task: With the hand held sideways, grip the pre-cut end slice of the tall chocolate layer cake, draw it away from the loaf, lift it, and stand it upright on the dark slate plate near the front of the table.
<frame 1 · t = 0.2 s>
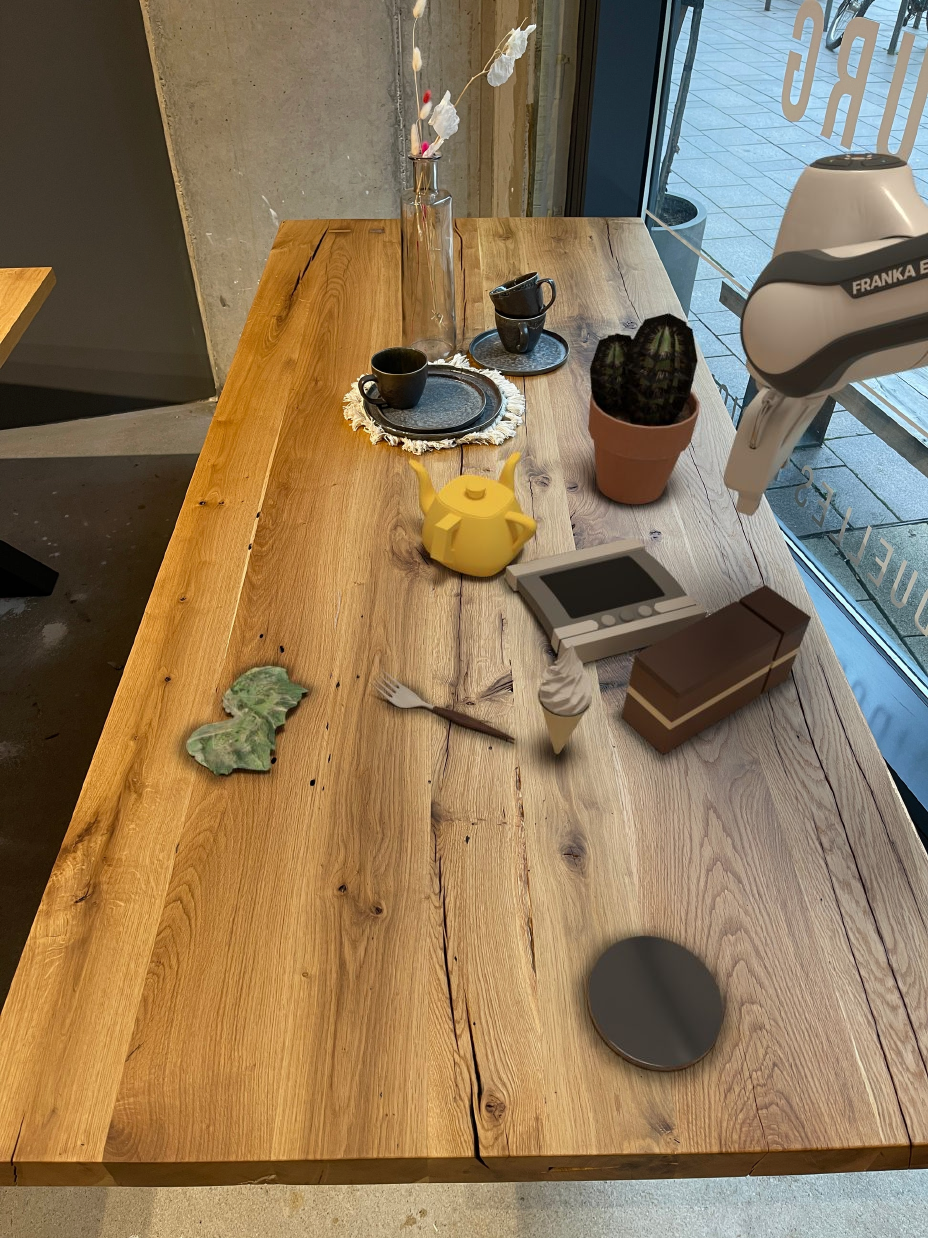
hand: (762, 486, 89), 20 cm above the table, tool pointing down, fingers open, 8 cm apart
fork: (443, 716, 93), on the table
lettuce leaf: (251, 719, 92), on the table
potted plant: (629, 487, 124), on the table
plate: (653, 1002, 72), on the table
ice cream cone: (556, 753, 90), on the table
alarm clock: (599, 605, 106), on the table
teapot: (471, 547, 113), on the table
cake slice: (753, 669, 99), on the table
cake loaf: (691, 706, 95), on the table
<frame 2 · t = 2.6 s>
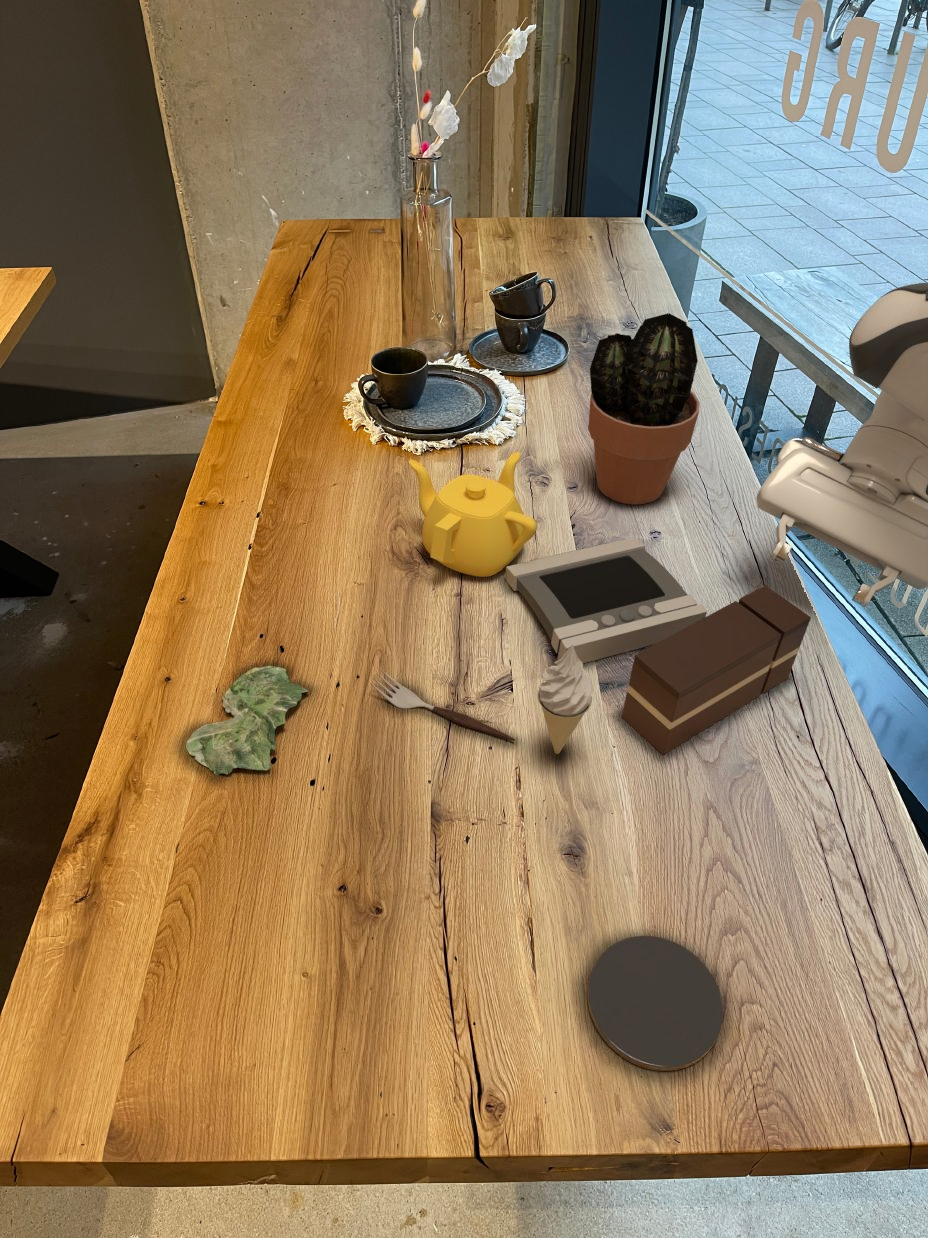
hand: (817, 580, 97), 8 cm above the table, tool tilted 55°, fingers open, 8 cm apart
nothing on the table moved.
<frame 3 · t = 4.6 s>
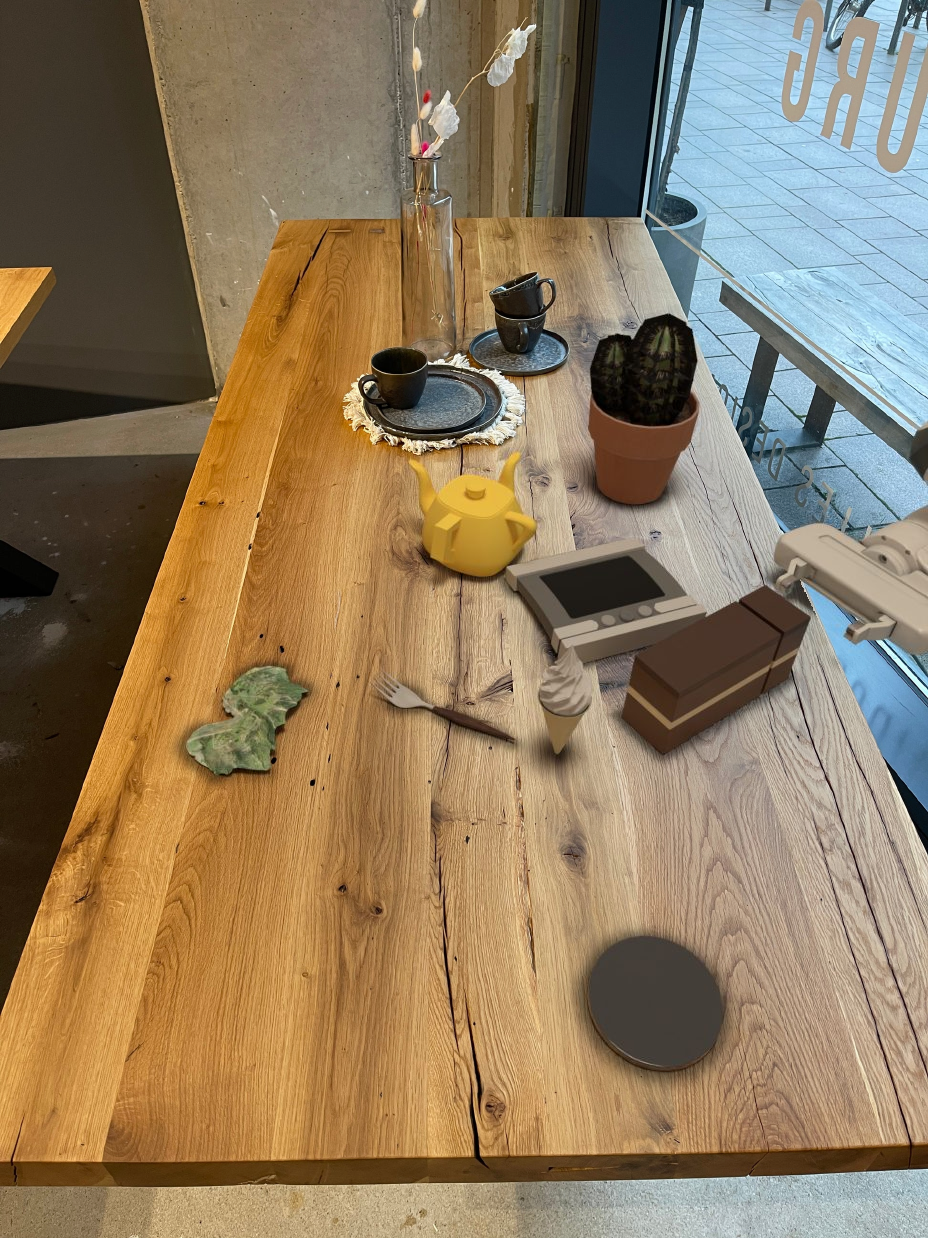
hand: (814, 611, 99), 5 cm above the table, tool horizontal, fingers open, 8 cm apart
nothing on the table moved.
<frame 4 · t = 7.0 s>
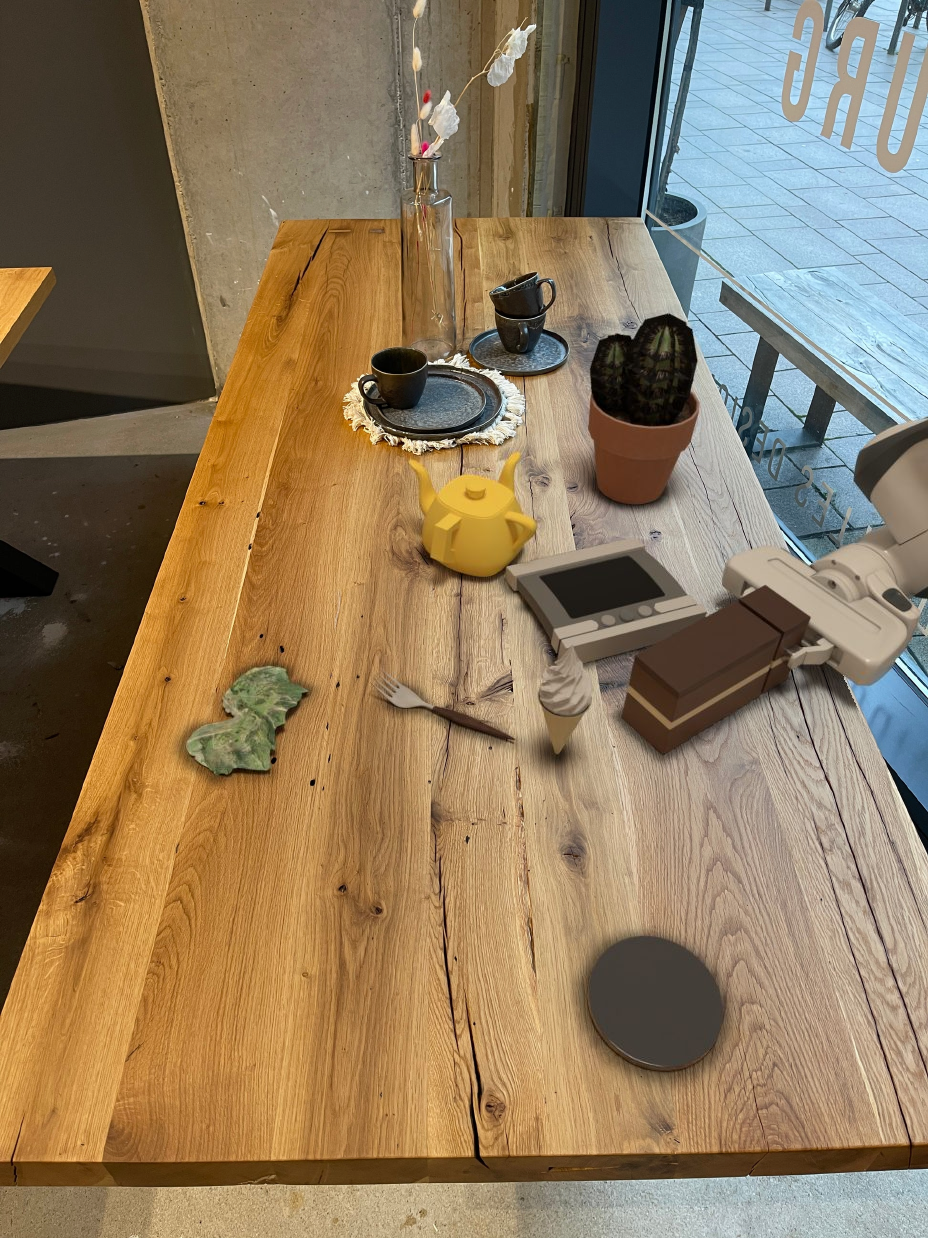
hand: (759, 639, 95), 5 cm above the table, tool horizontal, fingers closed on cake slice, 6 cm apart
cake slice: (753, 669, 99), on the table, touching gripper
everything else where it was.
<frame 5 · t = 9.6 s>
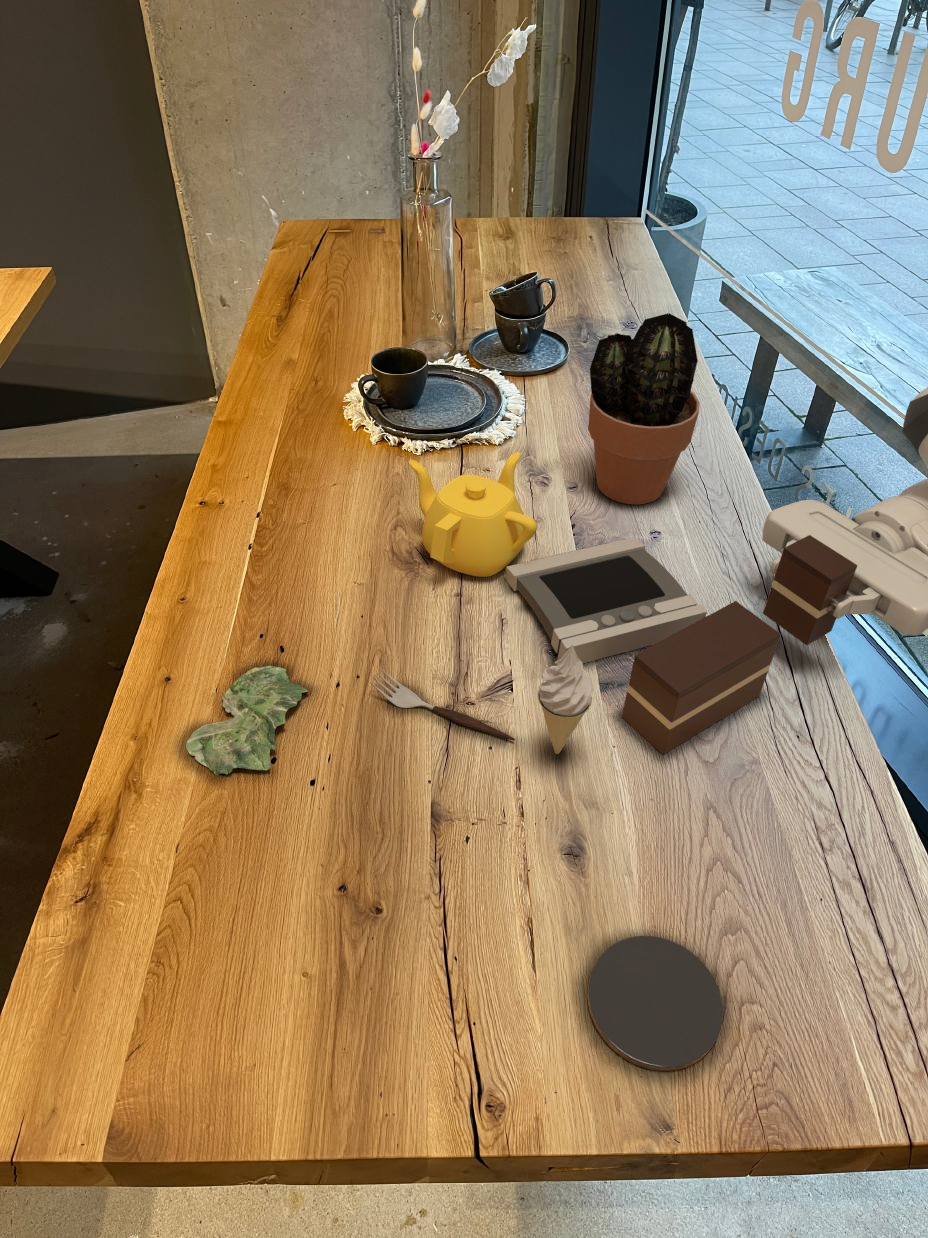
hand: (804, 590, 94), 10 cm above the table, tool horizontal, fingers closed on cake slice, 6 cm apart
cake slice: (796, 622, 98), point 5 cm above the table, touching gripper
everything else where it was.
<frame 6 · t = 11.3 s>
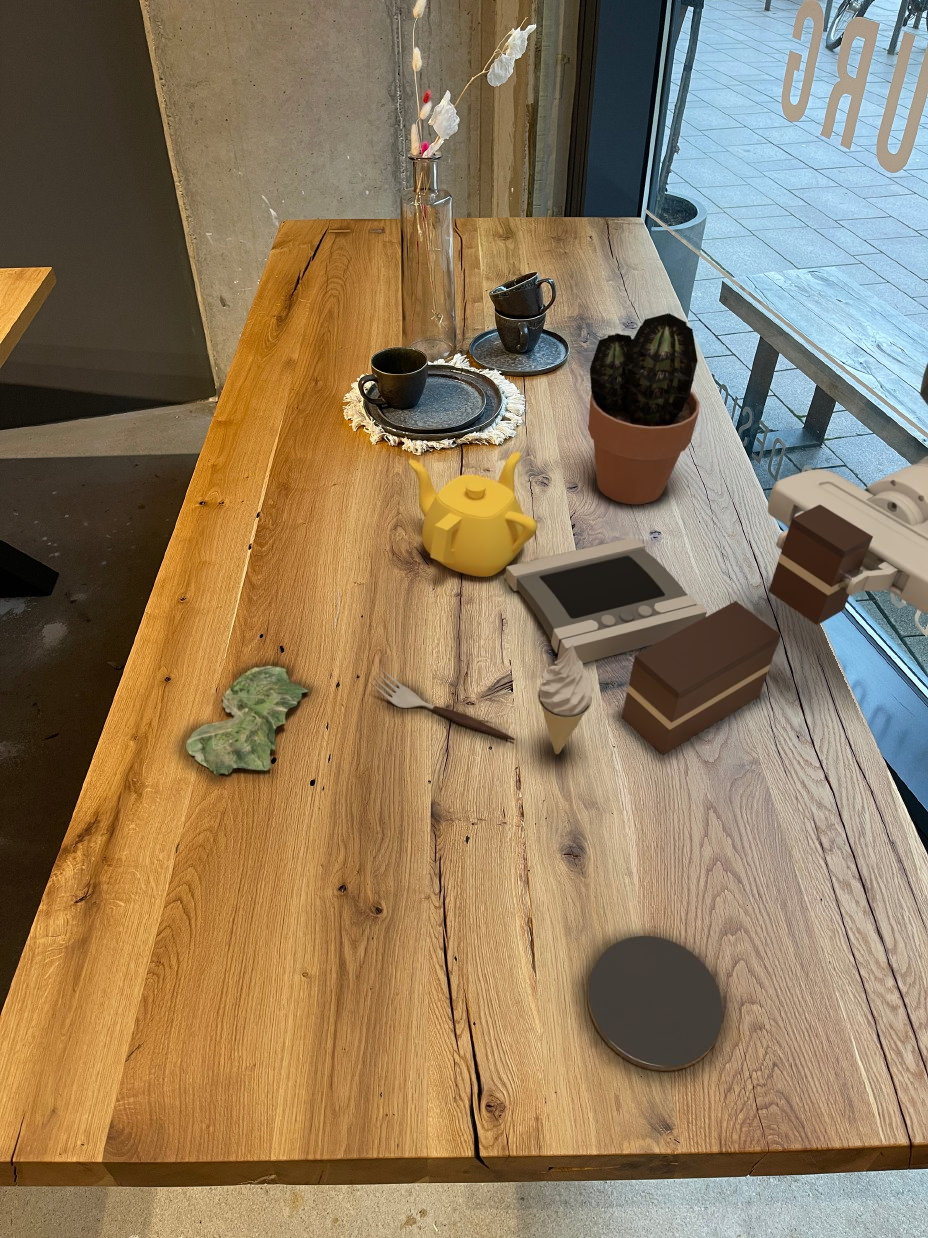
hand: (814, 564, 86), 17 cm above the table, tool horizontal, fingers closed on cake slice, 6 cm apart
cake slice: (805, 600, 89), point 12 cm above the table, touching gripper
everything else where it was.
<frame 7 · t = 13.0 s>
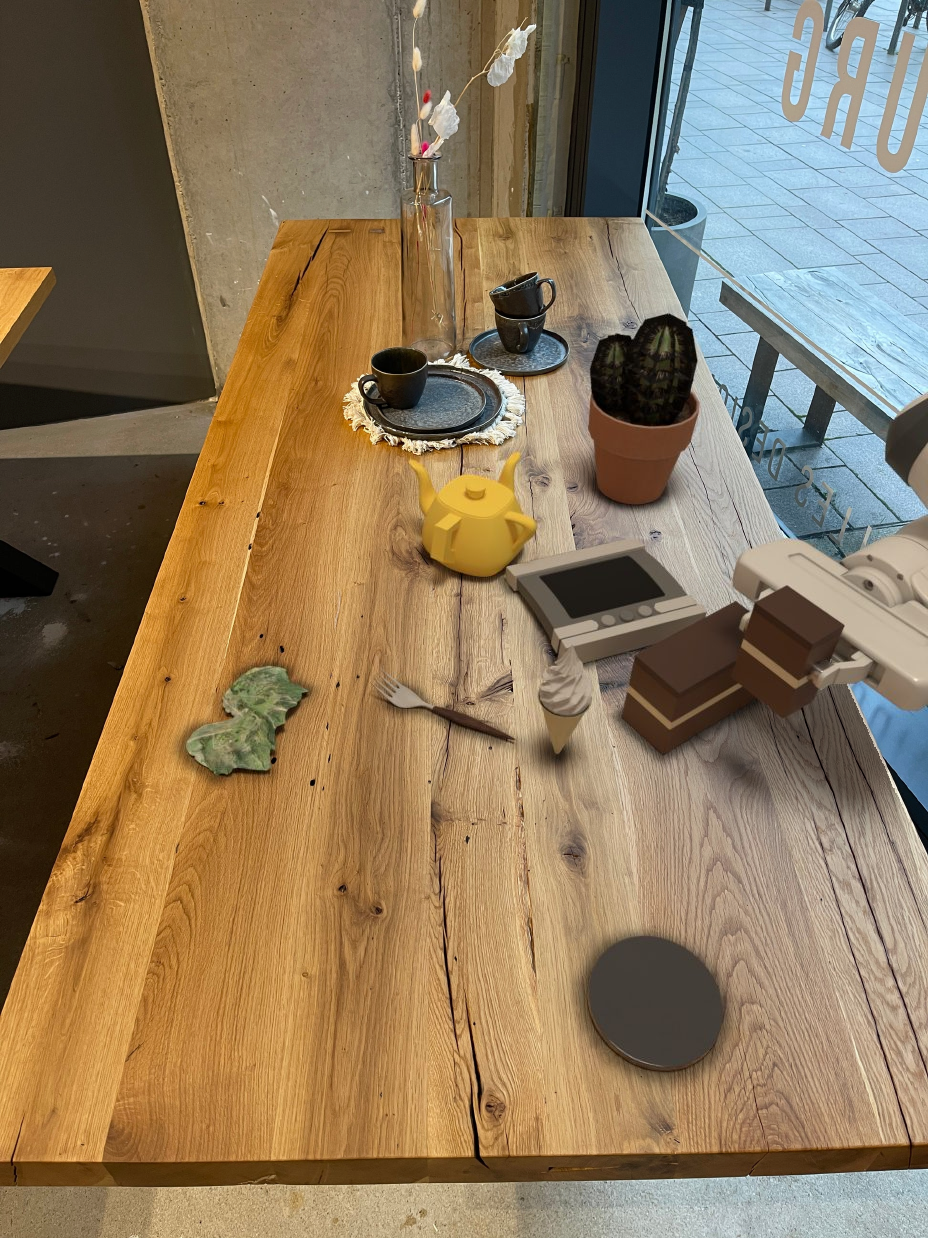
hand: (780, 653, 77), 17 cm above the table, tool horizontal, fingers closed on cake slice, 6 cm apart
cake slice: (772, 688, 81), point 12 cm above the table, touching gripper
everything else where it was.
when the fingers open (6 cm above the table, at t = 19.9 s): cake slice stays where it is, resting on plate.
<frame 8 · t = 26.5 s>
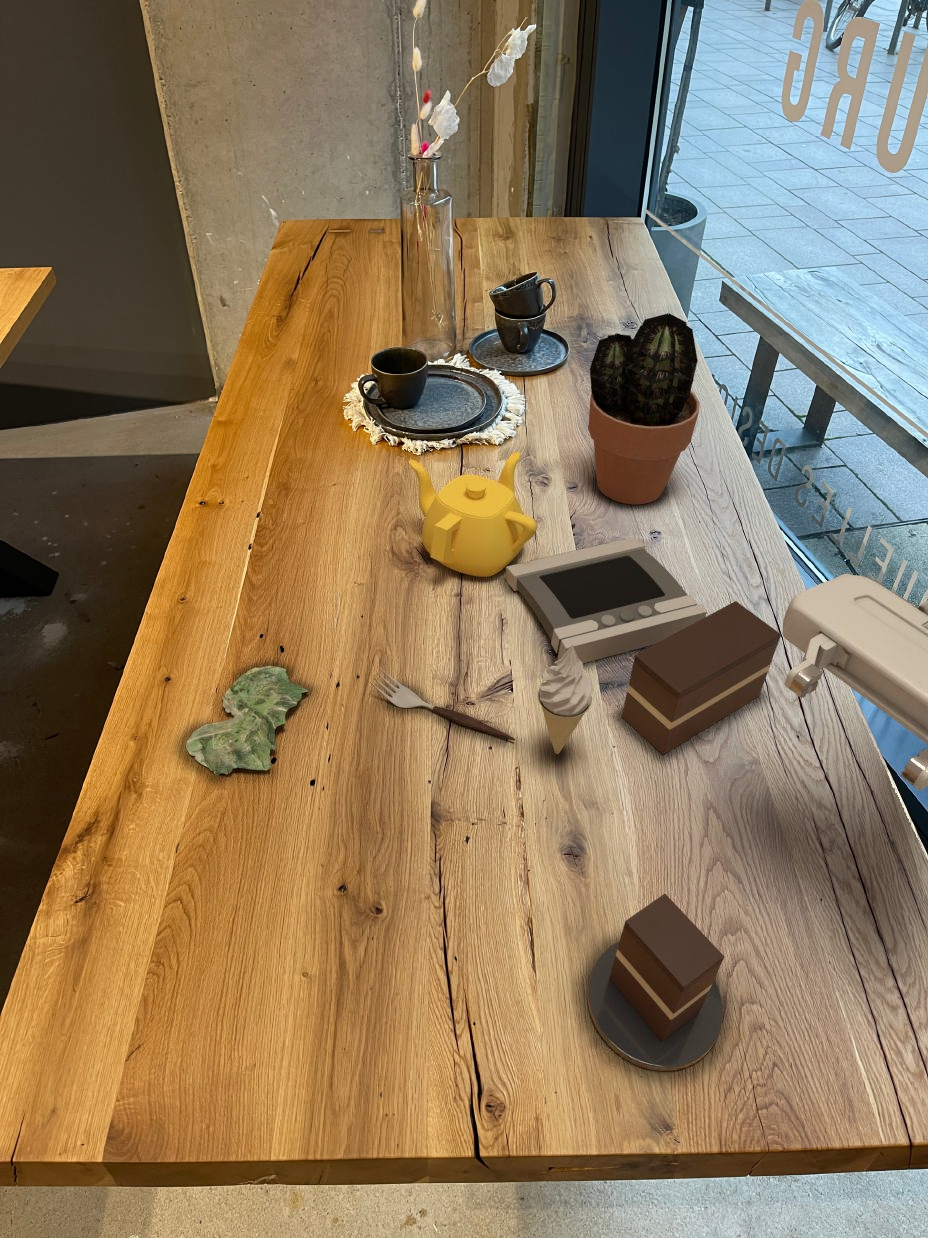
hand: (850, 729, 60), 25 cm above the table, tool horizontal, fingers open, 8 cm apart
cake slice: (653, 995, 71), point 1 cm above the table, touching plate
everything else where it was.
at the end: cake slice 0.2 cm off-centre on the plate, point 0.8 cm above the plate's base; cake slice tilted 0°; the gripper is holding nothing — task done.
